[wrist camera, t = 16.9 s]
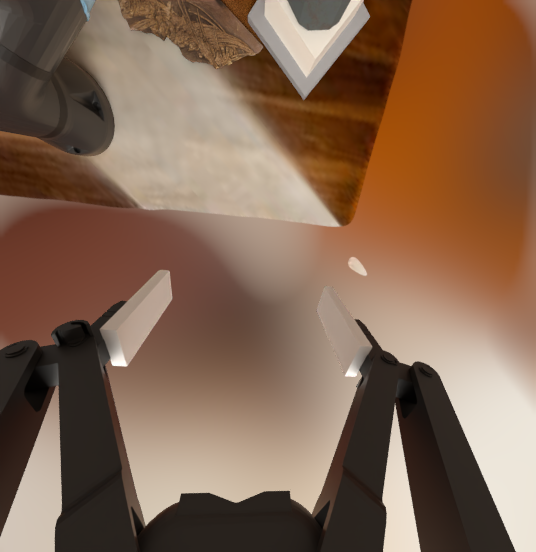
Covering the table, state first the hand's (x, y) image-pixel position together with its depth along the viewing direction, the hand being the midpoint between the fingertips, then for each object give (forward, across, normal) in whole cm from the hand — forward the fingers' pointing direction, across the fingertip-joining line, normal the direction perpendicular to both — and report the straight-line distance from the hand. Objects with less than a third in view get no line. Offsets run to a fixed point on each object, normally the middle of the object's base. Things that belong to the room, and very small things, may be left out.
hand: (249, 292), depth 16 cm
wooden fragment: (+38, -14, +31) cm, 51 cm away
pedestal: (+37, +6, +34) cm, 51 cm away
